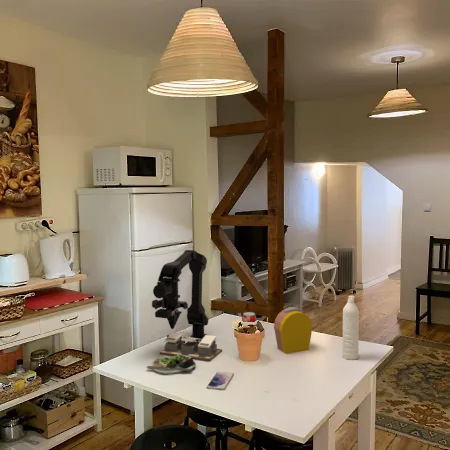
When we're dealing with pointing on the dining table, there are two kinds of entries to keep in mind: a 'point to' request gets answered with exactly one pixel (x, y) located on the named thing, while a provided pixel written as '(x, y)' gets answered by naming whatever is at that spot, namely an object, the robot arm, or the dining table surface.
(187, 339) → the switch middle
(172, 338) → the switch
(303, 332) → the alarm clock
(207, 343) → the switch
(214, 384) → the smartphone
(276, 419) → the dining table surface
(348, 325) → the water bottle
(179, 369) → the salad plate
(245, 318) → the soda can
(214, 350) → the switch console
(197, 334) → the robot arm
